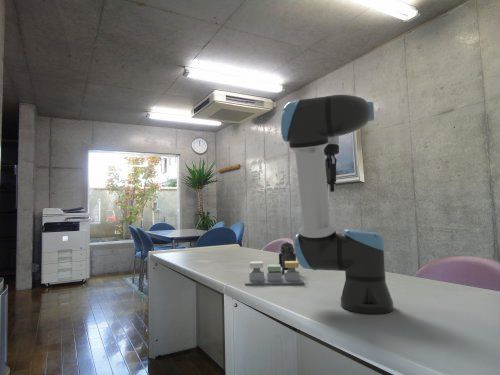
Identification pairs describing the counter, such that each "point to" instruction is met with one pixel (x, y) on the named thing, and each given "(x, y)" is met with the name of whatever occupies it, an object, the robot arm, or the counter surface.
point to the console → (274, 278)
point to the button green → (274, 268)
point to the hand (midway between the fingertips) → (332, 199)
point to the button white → (256, 266)
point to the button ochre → (291, 265)
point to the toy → (286, 255)
